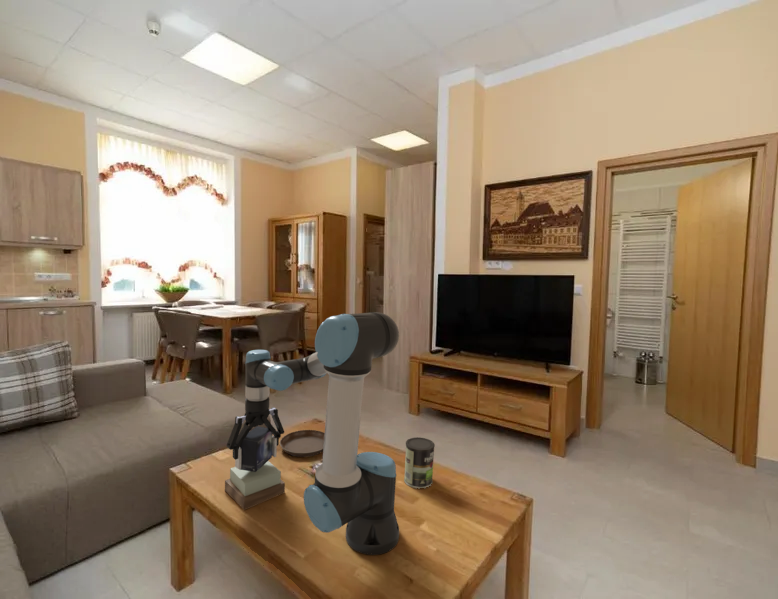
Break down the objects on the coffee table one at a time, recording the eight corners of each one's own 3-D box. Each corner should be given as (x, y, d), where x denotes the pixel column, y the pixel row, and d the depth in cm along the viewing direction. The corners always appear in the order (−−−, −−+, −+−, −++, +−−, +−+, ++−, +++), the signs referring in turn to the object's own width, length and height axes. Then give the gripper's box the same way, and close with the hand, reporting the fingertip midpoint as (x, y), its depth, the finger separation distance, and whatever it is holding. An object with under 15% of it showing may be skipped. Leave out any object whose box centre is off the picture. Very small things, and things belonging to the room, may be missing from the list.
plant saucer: (314, 464, 149) (315, 456, 149) (269, 453, 156) (269, 445, 156) (338, 442, 169) (339, 434, 169) (297, 433, 175) (297, 426, 175)
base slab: (284, 494, 130) (284, 482, 129) (244, 511, 120) (244, 499, 119) (263, 477, 139) (264, 466, 139) (224, 491, 129) (224, 480, 129)
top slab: (280, 483, 129) (280, 471, 129) (244, 496, 121) (245, 484, 120) (264, 468, 138) (264, 457, 137) (230, 479, 129) (230, 468, 129)
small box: (256, 473, 123) (257, 441, 122) (238, 470, 125) (238, 438, 124) (273, 457, 134) (273, 427, 133) (255, 454, 135) (256, 425, 134)
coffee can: (437, 479, 142) (439, 442, 141) (423, 492, 133) (425, 452, 132) (413, 470, 148) (414, 434, 146) (398, 482, 139) (400, 444, 138)
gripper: (284, 387, 138) (282, 446, 140) (215, 402, 121) (214, 469, 123) (295, 393, 133) (294, 454, 135) (225, 409, 116) (224, 478, 118)
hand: (256, 461), depth 129 cm, fingers closed on small box, 12 cm apart
